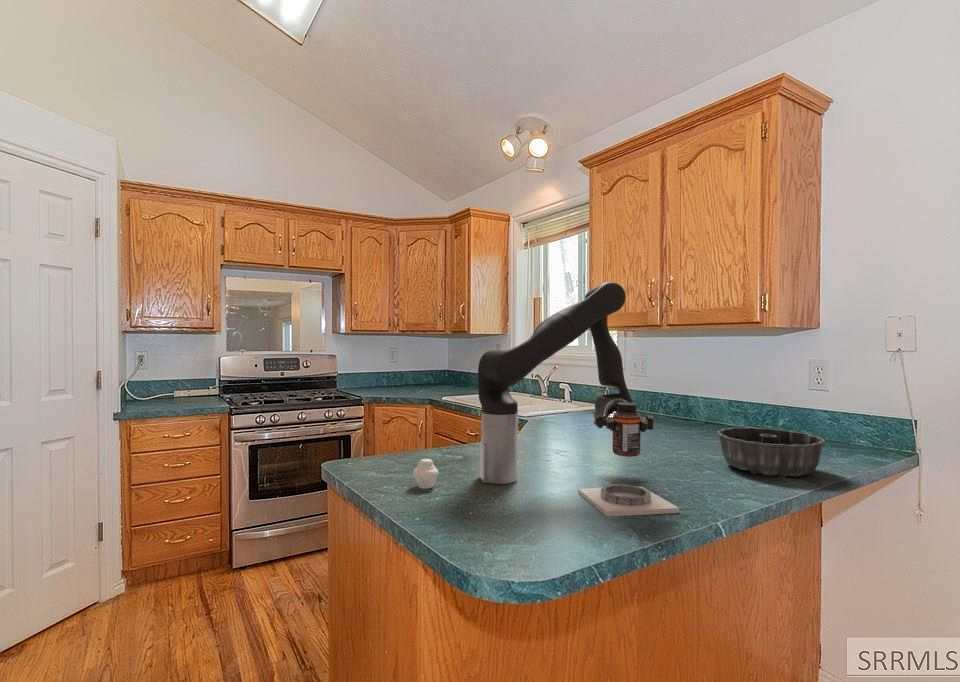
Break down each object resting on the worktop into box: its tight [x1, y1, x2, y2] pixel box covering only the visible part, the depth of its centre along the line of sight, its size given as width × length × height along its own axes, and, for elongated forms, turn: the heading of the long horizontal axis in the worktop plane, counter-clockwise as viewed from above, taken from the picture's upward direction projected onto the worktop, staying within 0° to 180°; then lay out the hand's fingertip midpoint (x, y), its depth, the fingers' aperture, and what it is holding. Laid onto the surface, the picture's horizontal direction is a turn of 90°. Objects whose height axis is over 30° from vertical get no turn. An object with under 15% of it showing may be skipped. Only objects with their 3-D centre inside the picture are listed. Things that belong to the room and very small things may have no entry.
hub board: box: [577, 486, 680, 518], centre depth 111 cm, size 16×16×1 cm
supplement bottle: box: [612, 402, 642, 458], centre depth 111 cm, size 6×6×11 cm
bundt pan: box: [716, 427, 826, 478], centre depth 142 cm, size 26×26×10 cm
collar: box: [601, 483, 652, 506], centre depth 111 cm, size 10×10×2 cm
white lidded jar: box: [412, 458, 440, 490], centre depth 121 cm, size 6×6×7 cm
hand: (627, 426), depth 109 cm, fingers closed on supplement bottle, 6 cm apart
